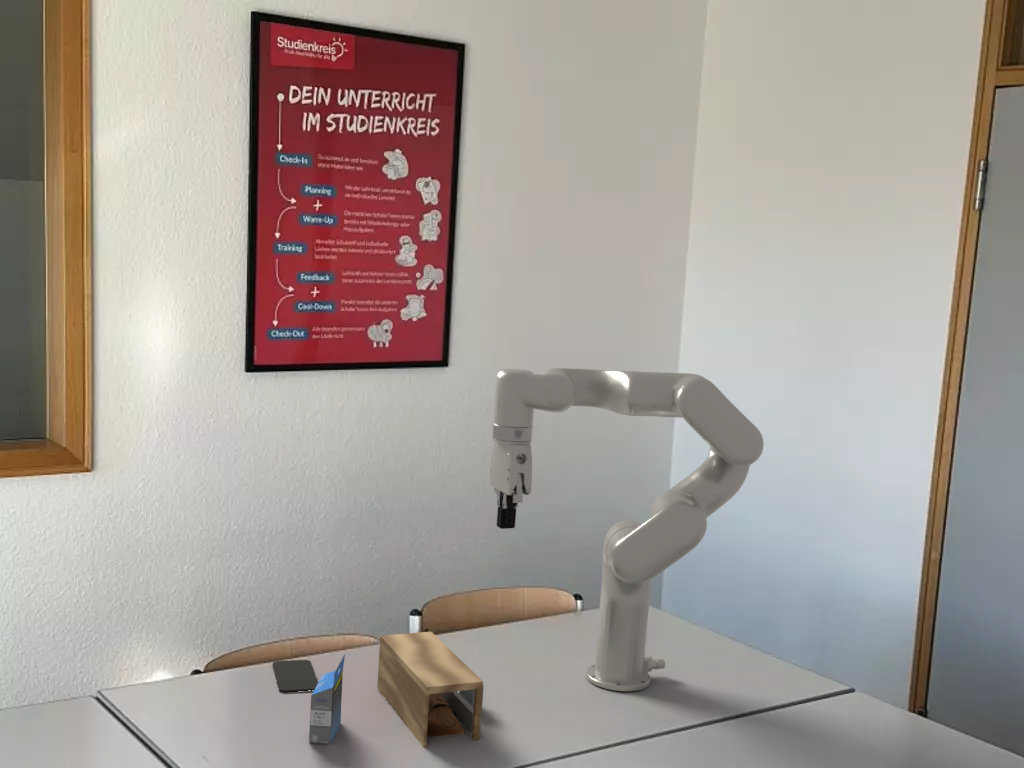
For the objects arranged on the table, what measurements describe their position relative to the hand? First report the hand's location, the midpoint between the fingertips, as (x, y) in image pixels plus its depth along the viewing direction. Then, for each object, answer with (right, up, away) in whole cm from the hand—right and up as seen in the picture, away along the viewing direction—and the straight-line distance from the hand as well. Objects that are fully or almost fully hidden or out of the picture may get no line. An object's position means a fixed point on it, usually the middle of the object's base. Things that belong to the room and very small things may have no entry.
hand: (505, 527), depth 215 cm
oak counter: (-14, -31, -18) cm, 38 cm away
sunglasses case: (-13, -31, -19) cm, 39 cm away
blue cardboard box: (-30, -31, -29) cm, 52 cm away
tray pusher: (-7, -30, -15) cm, 35 cm away
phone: (-39, -28, -6) cm, 49 cm away
